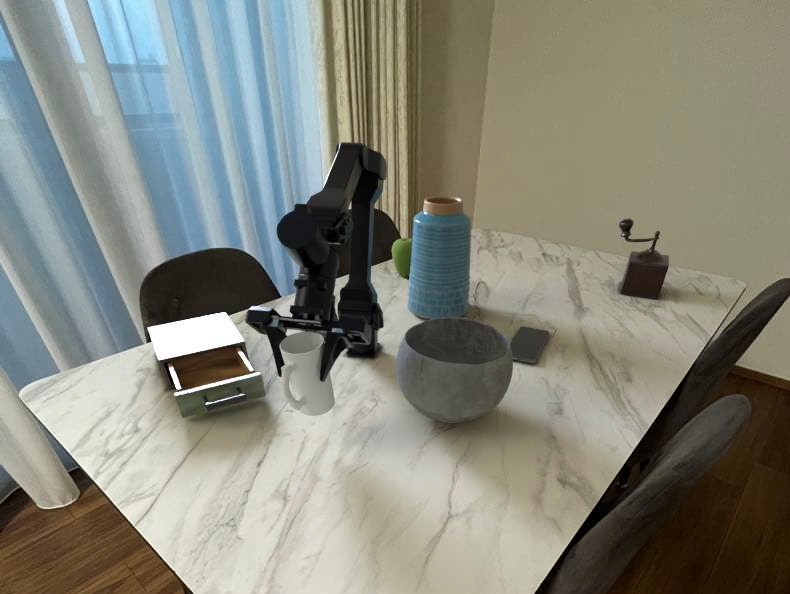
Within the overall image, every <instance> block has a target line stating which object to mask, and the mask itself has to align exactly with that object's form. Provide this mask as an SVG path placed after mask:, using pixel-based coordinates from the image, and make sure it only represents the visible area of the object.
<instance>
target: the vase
mask: <svg viewBox="0 0 790 594" xmlns="http://www.w3.org/2000/svg"><path fill="white" fill-rule="evenodd" d="M412 220H413V221H412V222H413V225H412V236H411V237H412V238H411V239H412V251H411V264H410V265H411V266H410V274H409V276H408V277H409V278H408V286H407V287H408V293H407V302H406V304H407V305H406V306H407V308H408V309H407V310H408V311H409V312H411V313H412V314H413V315H415V316H416V317H418V318H421V319H423V320H426V321H427V320H431V319H434V318H441V317H459V318H461V317H463V316H464V315H466V313H467V312H468V311H469V308H470V301H469V300H470V290H471V289H470V287H471V286H470V285H471V280H470V279H471V274H470V272H471V253H472V252H471V251H472V249H471V248H472V226H473V225H472V223H473V219H472V217H471V216H470V215H469V214H467V213H466V212H465V211H464V200H463V199H462V198H460V197H457V196H449V195H432V196H429V197H425V198H424V200H423V210H421V211H420V212H418V213H417V214H415V215H414V217H413V219H412Z"/></svg>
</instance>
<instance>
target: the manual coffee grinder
mask: <svg viewBox="0 0 790 594" xmlns="http://www.w3.org/2000/svg"><path fill="white" fill-rule="evenodd" d="M633 227H634V220H633V219H632V218H624V219H622V220H621V221H620V222H619V223H618V228H619V230H620V231H621V234H620V237H621V238H623V240H625V242H628V243H648V242H652V244H651V246H650V247H649V248H647V249H645V250H642V251H633V250H631V252H630V254H629V258H628V261H627V263H626V267H625V269H624V272H623V277H622V280H621V283H620V286H619V293H620V295H624V296H629V297H637V298H642V299H643V298H644V299H652V300H658V299H659V297H660V294H661V291H662V288H663V285H664V282H665V279H666V276H667V273H668V270H669V266H670V256H669V255H668V254H663V253H662V254H661V252H659V251H658V250H656V245H657V241H658V240H659V239H660V234H661V231H660V230H656V231H655V233H654V236H653V237H649V238H630V236H632V232H631V230H632V228H633Z"/></svg>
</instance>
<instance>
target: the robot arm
mask: <svg viewBox="0 0 790 594" xmlns="http://www.w3.org/2000/svg"><path fill="white" fill-rule="evenodd" d="M387 175H388V164H387V160H386V158H385V157H384V155H383V154H382V153H381V152H379V151H377V150H375V149H372V148H370V147H368V145H367V144H365V143H364V144H363V142H350V141H349V142H348V141H341V143H337V144H336V147H335V157H334V159H333V162H332V165H331V167H330V169H329V172H328V174H327V177H326V179H325V181H324V184H323V186H322V189H321V190H320V191H319V192H316V193H314V194H312V195H310V196H309V198H308V199H307V201H306V202H305V203H298V202H297V203H296V202H295V203H294V206H293V210H291V211H289V212H287V213H285V215H284V216H282V218H281V219H280V220H279V222H278V223H277V225H276V237H277V239H278V241H279V242H280V244H281V245H282V246H283V248H284V250H285V251H286V252H287V253H288V255H289V256H290V257H291V258H292V260H293V262H295V263H296V265H298V266H299V272H298V278H294V282H293V286H294V288H295V290H296V291H295V294H294V295H295V297H294V301H293V304H290V306H289V313H290V314H291V316H285V315H281V314H280V313H279V312H278V310H277V311H276V309H275V308H274V307H268V306H256V305H251V306H250V307H249V308H248V309H247V311H246V313H245V319H244V323H245V324H246V325H248V326H249V327H251V328H252V329H253V330H254V331H256V332H257V333H258V334H261V335H264V336H267V339H268V342H269V345H270V347H271V351H272V355H273V359H274V363H275V367H276V372H277V375H278V377H279V378H281V379H282V370H281V367H283V366H284V365H285V364H284V360H283V357H282V354H281V350H280V343H281V341H282V340H283V339H284V338H286V337H287V336H288V335H287V332H288V330H293V331H299V332H304V331H312V332H317V333H319V334H321V335H322V336H323V338H324V343H325V344H324V350H323V356H322V362H321V368H320V381H321V382H324V381H325V380H326V378H327V376H328V374H329V372H330V373H331V371H332V369H333V367H334V364H335V363H336V361H337V360H338V358H339V357H340V355H341V354H342V353H343V352H344V351H346V350H347V351H346V354H345V355H346V356H349V357H361V358H372V359H373V358H375V357H376V355H377V352H378V351H379V348H380V346H381V344H380V342H379V335H378V333H379V330H380V329H383V328H384V326H385V321H384V320H385V319H384V312H383V310H382V307H381V305H380V304H379V302H378V293H377V291H376V289H375V287H374V285H373V283H372V263H373V262H372V260H373V259H372V258H373V239H374V238H373V237H374V218H375V205H376V204H377V201H378V200H379V198H380V196H381V195H382V193H383V192H384V183H385V181H386V179H387ZM348 239H349V256H348V257H349V260H348V265H349V266H348V279H347V282H346V283H345V285H344V286H343V287H341V288H340V290H339V300H338V303H337V306H336V296H335V287H336V282H337V275H338V269H340V268H341V267H340V266H341V264H340V256H339V254H338V251H336V249H335V248H334V247H333V246H331V245H345V244H346V243H347V241H348ZM336 308H337V309H336Z"/></svg>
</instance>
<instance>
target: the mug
mask: <svg viewBox="0 0 790 594" xmlns="http://www.w3.org/2000/svg"><path fill="white" fill-rule="evenodd" d="M324 344H325V342H324V338H323V336H322V335H321V334H319V333H317V332H312V331H299V332H294V333H291V334H288V335H287V337H286V338H284V339H283V340H282V341H281V343H280V350H281V354H282V357H283V360H284V364H285V365H284V366H283V367H281V370H282V378H281V388H282V392H283V395H284V398H285V400H286V401H287V403H289V405H290V406H291V408H292V409H293V410H297V411H299V412H300V413H301V414H303V415H305V416H309V417H310V416H311V417H317V416H323V415H324V414H326V413H328V412H330V411H331V410H332V409H333V408H334V406H335V404H336V399H335V393H334V388H333V381H332V377H331V371H330V372H329V374H328V376H327V378H326V380H325V381H324V382H321V381H320V368H321V362H322V356H323V350H324ZM290 387H291V389H292V392H293V394H292V392H291V389H290Z"/></svg>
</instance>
